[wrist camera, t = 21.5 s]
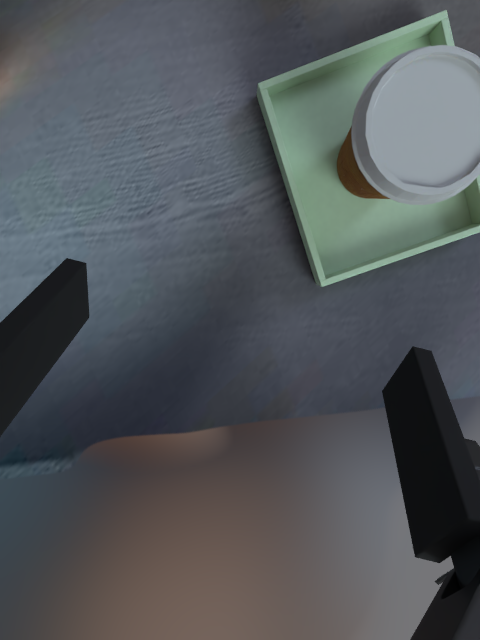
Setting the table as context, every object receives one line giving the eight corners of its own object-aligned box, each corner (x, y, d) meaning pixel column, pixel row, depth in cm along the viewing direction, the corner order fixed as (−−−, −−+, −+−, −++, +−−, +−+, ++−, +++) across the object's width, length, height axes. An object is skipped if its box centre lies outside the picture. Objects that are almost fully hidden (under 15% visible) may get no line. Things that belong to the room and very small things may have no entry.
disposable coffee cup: (298, 173, 36) (326, 138, 24) (365, 83, 34) (430, -1, 22) (375, 237, 37) (438, 233, 25) (444, 152, 35) (545, 106, 23)
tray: (256, 95, 35) (257, 83, 32) (430, 27, 34) (446, 9, 31) (316, 284, 38) (321, 287, 35) (476, 228, 37) (494, 227, 34)
